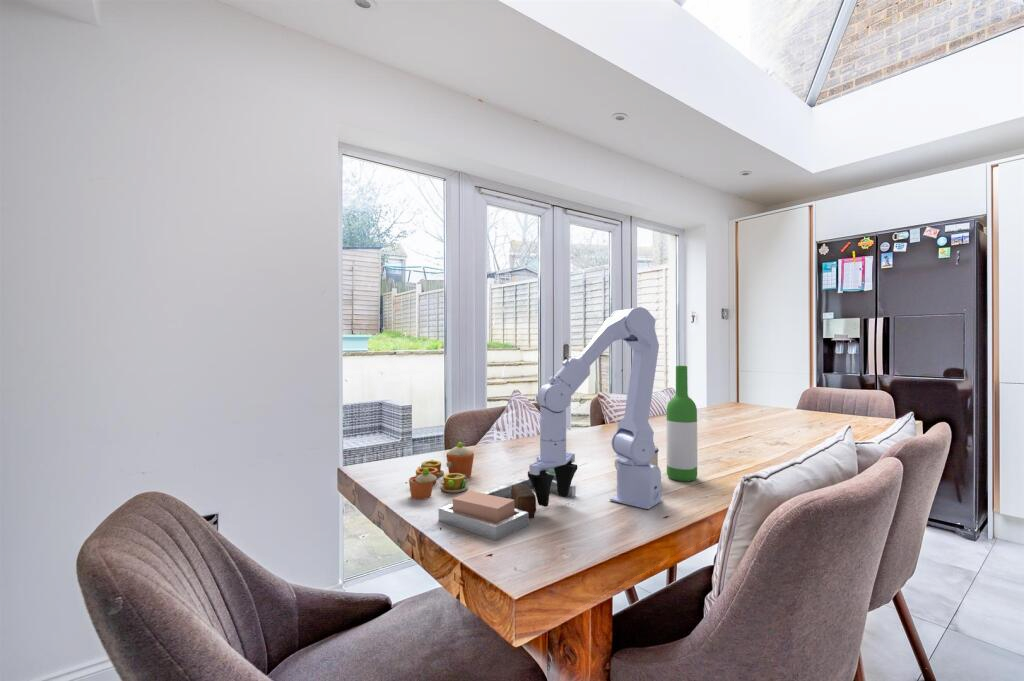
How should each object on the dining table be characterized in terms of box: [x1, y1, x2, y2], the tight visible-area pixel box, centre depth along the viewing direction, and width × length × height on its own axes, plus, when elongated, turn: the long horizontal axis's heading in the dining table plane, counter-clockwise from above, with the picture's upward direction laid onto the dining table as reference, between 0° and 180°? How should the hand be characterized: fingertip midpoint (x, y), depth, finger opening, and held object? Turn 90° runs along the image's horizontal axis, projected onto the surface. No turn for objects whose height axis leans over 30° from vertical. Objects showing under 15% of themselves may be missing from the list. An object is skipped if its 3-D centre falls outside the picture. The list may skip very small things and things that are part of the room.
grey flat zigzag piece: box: [438, 476, 577, 542], centre depth 105 cm, size 16×31×2 cm, turn 140°
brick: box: [510, 484, 537, 519], centre depth 104 cm, size 11×4×5 cm, turn 8°
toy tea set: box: [408, 441, 475, 500], centre depth 123 cm, size 26×16×10 cm, turn 1°
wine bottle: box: [666, 365, 698, 482], centre depth 128 cm, size 8×8×30 cm
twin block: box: [452, 490, 515, 523], centre depth 97 cm, size 6×11×5 cm, turn 57°
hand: (553, 501), depth 105 cm, fingers open, 7 cm apart
